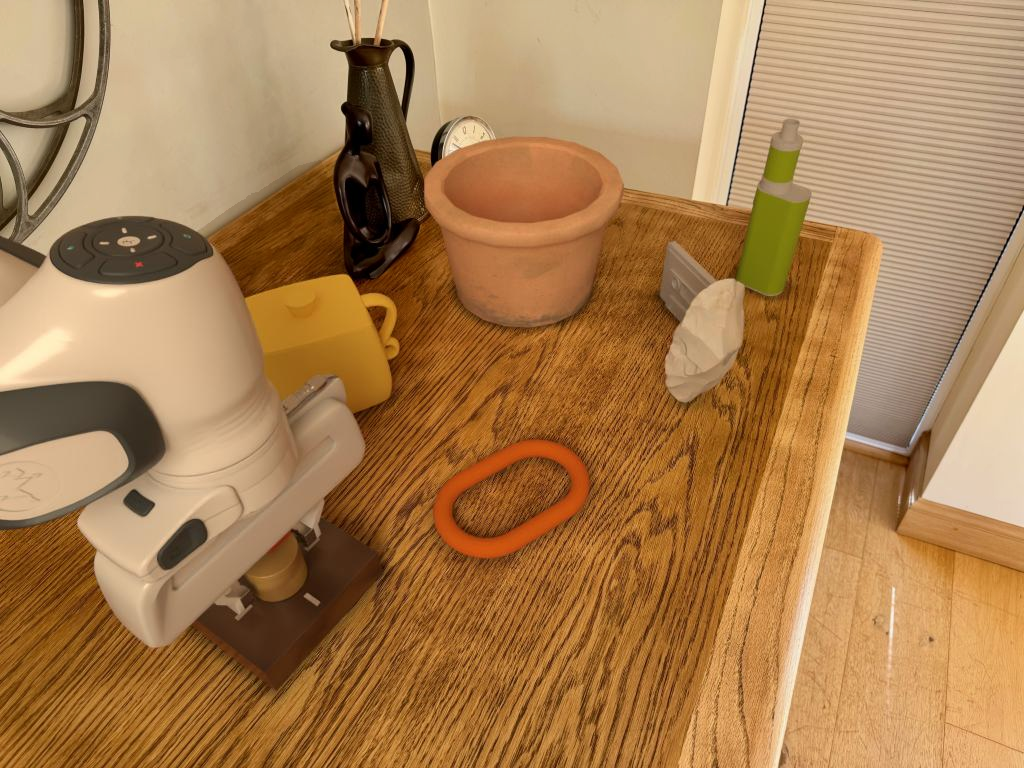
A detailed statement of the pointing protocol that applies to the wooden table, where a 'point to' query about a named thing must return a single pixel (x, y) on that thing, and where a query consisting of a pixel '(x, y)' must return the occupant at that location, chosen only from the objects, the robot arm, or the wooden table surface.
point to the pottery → (523, 225)
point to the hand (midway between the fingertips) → (275, 569)
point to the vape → (775, 216)
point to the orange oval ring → (529, 528)
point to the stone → (706, 340)
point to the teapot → (326, 338)
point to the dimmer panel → (295, 608)
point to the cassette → (681, 280)
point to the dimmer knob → (278, 571)
